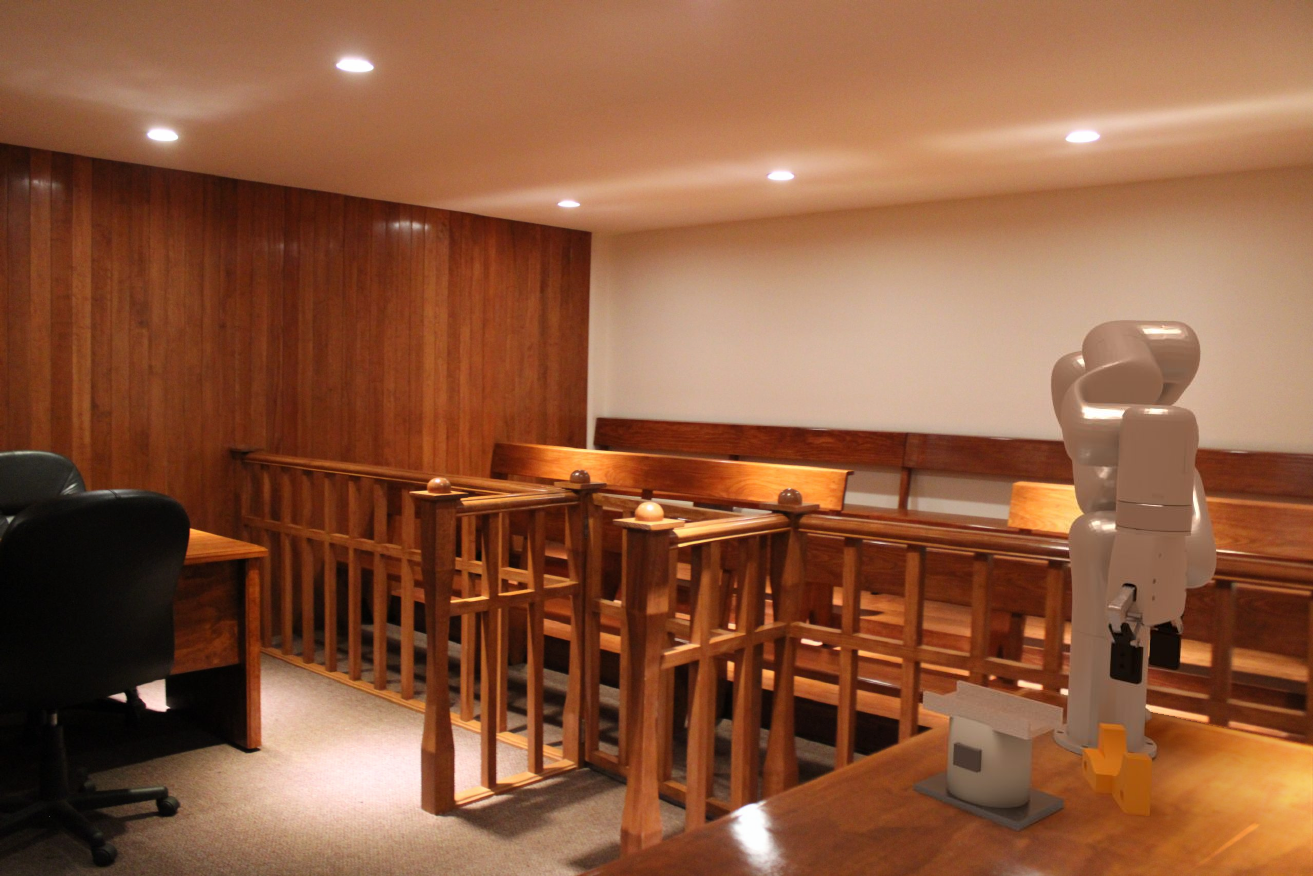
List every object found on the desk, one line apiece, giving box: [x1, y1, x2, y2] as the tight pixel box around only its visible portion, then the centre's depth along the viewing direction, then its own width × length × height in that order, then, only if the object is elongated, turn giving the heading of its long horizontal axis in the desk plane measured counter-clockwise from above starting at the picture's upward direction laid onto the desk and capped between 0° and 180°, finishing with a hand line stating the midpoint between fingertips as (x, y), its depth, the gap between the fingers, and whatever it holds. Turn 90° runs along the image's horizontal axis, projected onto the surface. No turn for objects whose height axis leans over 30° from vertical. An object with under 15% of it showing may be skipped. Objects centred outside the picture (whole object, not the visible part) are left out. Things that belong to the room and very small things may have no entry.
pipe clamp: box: [1081, 723, 1153, 817], centre depth 119 cm, size 12×4×6 cm, turn 170°
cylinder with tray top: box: [912, 680, 1065, 832], centre depth 115 cm, size 10×13×12 cm
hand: (1145, 674), depth 112 cm, fingers open, 9 cm apart
